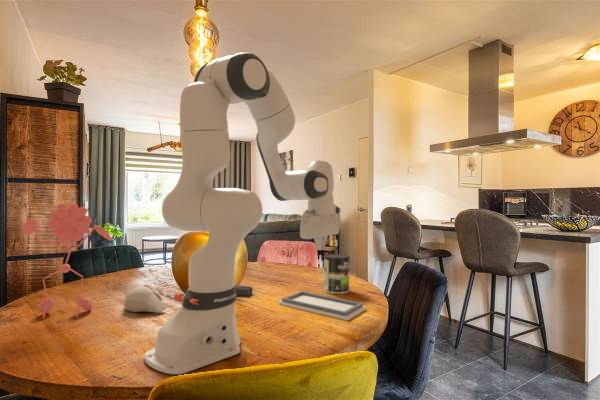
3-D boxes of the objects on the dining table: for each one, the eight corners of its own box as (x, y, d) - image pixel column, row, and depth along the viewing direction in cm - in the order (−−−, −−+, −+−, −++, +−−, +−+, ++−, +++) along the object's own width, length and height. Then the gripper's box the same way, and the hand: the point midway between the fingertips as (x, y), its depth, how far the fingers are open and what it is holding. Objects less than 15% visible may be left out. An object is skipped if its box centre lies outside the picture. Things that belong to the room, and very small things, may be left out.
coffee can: (354, 291, 134) (354, 255, 134) (337, 295, 127) (337, 258, 127) (335, 286, 142) (335, 252, 142) (318, 290, 135) (318, 255, 135)
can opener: (206, 290, 133) (200, 293, 128) (208, 274, 133) (202, 277, 128) (252, 297, 129) (248, 300, 124) (254, 280, 129) (249, 284, 124)
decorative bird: (139, 304, 116) (141, 282, 116) (169, 313, 107) (171, 289, 108) (114, 309, 108) (116, 285, 109) (144, 319, 100) (146, 293, 100)
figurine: (105, 318, 102) (106, 203, 102) (9, 323, 97) (9, 203, 97) (122, 303, 117) (123, 203, 117) (39, 307, 112) (40, 203, 112)
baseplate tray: (347, 320, 101) (347, 314, 101) (278, 304, 116) (278, 298, 116) (366, 309, 111) (366, 303, 111) (300, 295, 127) (300, 290, 127)
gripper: (311, 210, 104) (311, 254, 104) (342, 208, 120) (342, 246, 120) (295, 209, 107) (295, 252, 107) (327, 208, 124) (327, 245, 124)
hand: (320, 249), depth 114 cm, fingers closed
